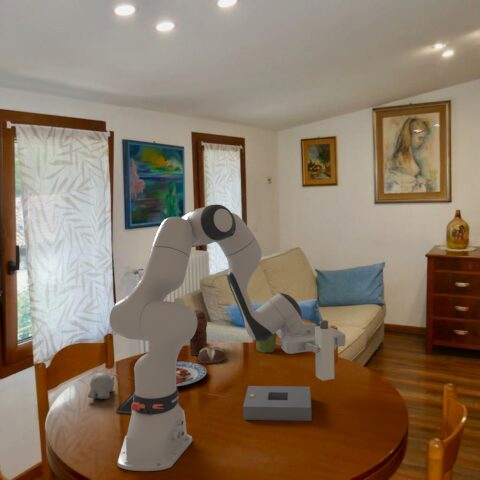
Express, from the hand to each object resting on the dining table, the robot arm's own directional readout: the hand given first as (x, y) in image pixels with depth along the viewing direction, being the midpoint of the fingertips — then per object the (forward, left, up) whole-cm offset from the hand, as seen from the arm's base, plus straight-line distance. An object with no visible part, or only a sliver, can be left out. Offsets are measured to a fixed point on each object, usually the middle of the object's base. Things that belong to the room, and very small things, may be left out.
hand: (325, 348), depth 147 cm
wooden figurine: (+61, +51, -21) cm, 82 cm away
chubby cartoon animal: (+13, +74, -21) cm, 78 cm away
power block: (+5, +15, -21) cm, 26 cm away
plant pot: (+63, +22, -21) cm, 70 cm away
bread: (+52, +43, -21) cm, 70 cm away
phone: (+7, +61, -21) cm, 65 cm away
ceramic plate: (+30, +55, -21) cm, 66 cm away
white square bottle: (+1, 0, -9) cm, 9 cm away
